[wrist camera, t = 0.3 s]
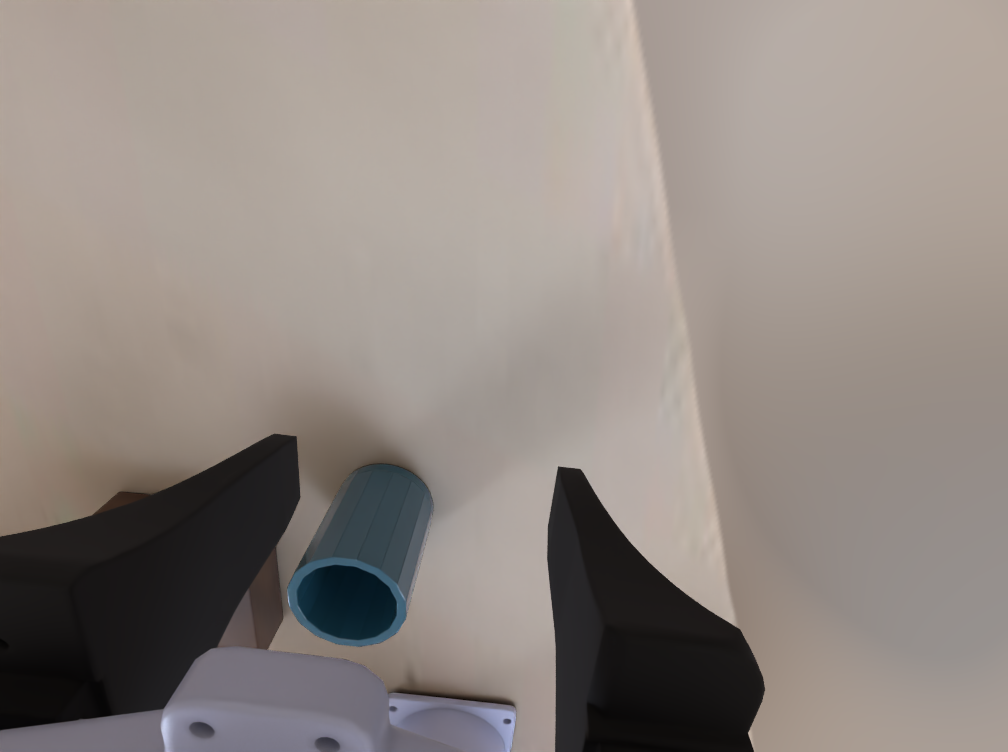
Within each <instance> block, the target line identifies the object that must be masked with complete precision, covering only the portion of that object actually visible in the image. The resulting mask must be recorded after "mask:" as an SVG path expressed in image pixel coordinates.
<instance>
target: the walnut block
mask: <svg viewBox="0 0 1008 752" xmlns="http://www.w3.org/2000/svg"><path fill="white" fill-rule="evenodd" d="M147 496H150V495H146V494H137V493H127V492H118V493H117V494H116V495H115V496H114V497H113V498H111V499H110V500H109V501H108V502H107V503H106V504H105V505H103V506H102V507H101V508H100V509H99V510H98V511H97V512H95V513H94V514H93V515H95V514H98V513H101V512H104V511H107V510H110V509H113V508H116V507H120V506H123V505H126V504H129V503H132V502H134V501H137V500H140V499H142V498H145V497H147ZM282 620H283V612H282V603H281V594H280V585H279V576H278V567H277V558H276V549H275V548H274V549H273V551H272V553H271V554H270V556H269V557H268V559H267V560H266V562H265V564H264V565H263V567H262V568H261V570H260V571H259V573H258V574H257V576H256V578H255V579H254V581H253V582H252V584H251V585H250V587H249V589H248V590H247V592H246V593H245V595H244V596H243V598H242V600H241V602H240V603H239V605H238V607H237V608H236V610H235V612H234V614H233V616H232V618H231V620H230V622H229V624H228V626H227V628H226V630H225V632H224V634H223V636H222V638H221V640H220V642H219V644H218V646H217V648H222V647H235V646H239V647H247V648H256V649H264V650H267V649H268V648H269V646H270V644H271V642H272V640H273V638H274V636H275V634H276V632H277V630H278V628H279V626H280V624H281V622H282Z"/></svg>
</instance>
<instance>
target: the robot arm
mask: <svg viewBox="0 0 1008 752" xmlns="http://www.w3.org/2000/svg"><path fill="white" fill-rule="evenodd" d="M299 500H300V483H299V467H298V451H297V436H290V435H281V434H273V435H271V436H269V437H267V438H265V439H263V440H261V441H259V442H257V443H255V444H253V445H252V446H250V447H248V448H246V449H244V450H242V451H241V452H239V453H237V454H235V455H233V456H231V457H230V458H228V459H226V460H224V461H222V462H220V463H219V464H217V465H215V466H213V467H211V468H209V469H207V470H205V471H203V472H201V473H199V474H197V475H195V476H193V477H191V478H189V479H187V480H185V481H182V482H180V483H178V484H176V485H174V486H172V487H169V488H167V489H165V490H162V491H160V492H158V493H155V494H153V495H150V496H147V497H145V498H142V499H140V500H137V501H134V502H132V503H129V504H126V505H123V506H120V507H116V508H113V509H110V510H107V511H104V512H101V513H98V514H95V515H92V516H88V517H85V518H81V519H77V520H74V521H70V522H66V523H62V524H58V525H54V526H50V527H46V528H41V529H37V530H32V531H27V532H22V533H17V534H12V535H6V536H1V537H0V752H511V747H512V741H513V734H514V727H515V720H516V709H515V708H514V707H513V706H511V705H505V704H496V703H487V702H477V701H468V700H459V699H450V698H441V697H431V696H422V695H413V694H404V693H395V692H394V693H389V694H388V693H387V690H386V688H385V685H384V682H383V681H382V679H381V678H380V677H378V676H377V675H376V674H375V673H373V672H372V671H371V670H370V669H368V668H367V667H366V666H365V665H362V664H358V663H355V662H352V661H348V660H345V659H340V658H332V657H323V656H315V655H306V654H298V653H290V652H281V651H273V650H264V649H256V648H247V647H239V646H235V647H222V648H217V646H218V644H219V642H220V640H221V638H222V636H223V634H224V632H225V630H226V628H227V626H228V624H229V622H230V620H231V618H232V616H233V614H234V612H235V610H236V608H237V607H238V605H239V603H240V602H241V600H242V598H243V596H244V595H245V593H246V592H247V590H248V589H249V587H250V585H251V584H252V582H253V581H254V579H255V578H256V576H257V574H258V573H259V571H260V570H261V568H262V567H263V565H264V564H265V562H266V560H267V559H268V557H269V556H270V554H271V553H272V551H273V549H274V548H275V546H276V545H277V543H278V541H279V540H280V538H281V537H282V535H283V533H284V532H285V530H286V528H287V526H288V524H289V522H290V520H291V518H292V516H293V513H294V511H295V509H296V507H297V504H298V502H299ZM547 560H548V571H549V581H550V590H551V600H552V609H553V619H554V629H555V643H556V734H555V752H754V750H753V747H752V744H751V741H750V738H749V735H748V732H749V730H750V727H751V725H752V723H753V721H754V718H755V716H756V714H757V712H758V709H759V707H760V705H761V703H762V699H763V695H764V691H765V687H764V681H763V676H762V674H761V671H760V669H759V666H758V664H757V662H756V660H755V657H754V655H753V653H752V651H751V649H750V647H749V645H748V643H747V642H746V640H745V638H744V636H743V634H742V632H741V630H740V629H738V628H737V627H735V626H733V625H732V624H730V623H729V622H727V621H725V620H724V619H722V618H720V617H719V616H717V615H716V614H714V613H712V612H711V611H709V610H708V609H706V608H705V607H703V606H702V605H700V604H699V603H698V602H696V601H695V600H693V599H692V598H691V597H689V596H688V595H687V594H685V593H684V592H683V591H681V590H680V589H679V588H678V587H676V586H675V585H674V584H673V583H671V582H670V581H669V580H668V579H667V578H666V577H665V576H663V575H662V574H661V573H660V572H659V571H658V570H657V569H656V568H654V567H653V566H652V565H651V564H650V563H649V562H648V561H647V560H646V559H645V558H644V557H643V556H642V555H641V554H640V552H639V551H638V550H637V549H636V548H635V547H634V546H633V545H632V544H631V543H630V542H629V540H628V539H627V538H626V537H625V535H624V534H623V533H622V532H621V530H620V529H619V528H618V526H617V525H616V524H615V522H614V521H613V520H612V518H611V517H610V515H609V514H608V512H607V511H606V509H605V508H604V506H603V505H602V503H601V502H600V500H599V499H598V497H597V495H596V494H595V492H594V491H593V489H592V487H591V486H590V484H589V482H588V480H587V478H586V477H585V475H584V473H583V472H582V471H581V469H575V468H566V467H558V471H557V476H556V482H555V488H554V494H553V500H552V506H551V512H550V518H549V524H548V553H547Z"/></svg>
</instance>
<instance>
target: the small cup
mask: <svg viewBox="0 0 1008 752" xmlns="http://www.w3.org/2000/svg"><path fill="white" fill-rule="evenodd" d="M432 515H433V500H432V497H431V494H430V492H429V490H428V488H427V487H426V485H425V484H424V483H423V482H422V481H421V480H420V479H419V478H418V477H417V476H416V475H414V474H413V473H411V472H409V471H407V470H406V469H403V468H401V467H398V466H394V465H388V464H373V465H368V466H365V467H362V468H360V469H358V470H356V471H354V472H353V473H351V474H350V475H349V476H348V477H347V478H346V480H345V481H344V483H343V484H342V486H341V487H340V489H339V491H338V493H337V495H336V497H335V499H334V500H333V502H332V504H331V506H330V508H329V510H328V512H327V513H326V515H325V517H324V519H323V521H322V523H321V524H320V526H319V528H318V530H317V532H316V534H315V536H314V537H313V539H312V541H311V543H310V545H309V547H308V548H307V550H306V552H305V554H304V556H303V558H302V560H301V561H300V563H299V565H298V567H297V569H296V571H295V573H294V575H293V577H292V579H291V581H290V583H289V585H288V587H287V593H288V602H289V607H290V609H291V610H292V612H293V614H294V615H295V617H296V618H297V620H298V622H300V624H301V625H303V626H304V627H305V628H307V629H308V630H309V631H310V632H312V633H313V634H314V635H316V636H317V637H320V638H322V639H325V640H327V641H330V642H332V643H335V644H338V645H347V646H356V647H362V646H368V645H373V644H378V643H382V642H383V641H385V640H387V639H388V638H390V637H392V636H393V635H395V634H396V633H397V632H398V631H399V629H400V628H401V626H402V624H403V623H404V621H405V620H406V617H407V613H408V609H409V606H410V602H411V598H412V594H413V590H414V587H415V583H416V579H417V575H418V571H419V568H420V564H421V560H422V556H423V553H424V549H425V545H426V541H427V537H428V534H429V530H430V526H431V519H432Z"/></svg>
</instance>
